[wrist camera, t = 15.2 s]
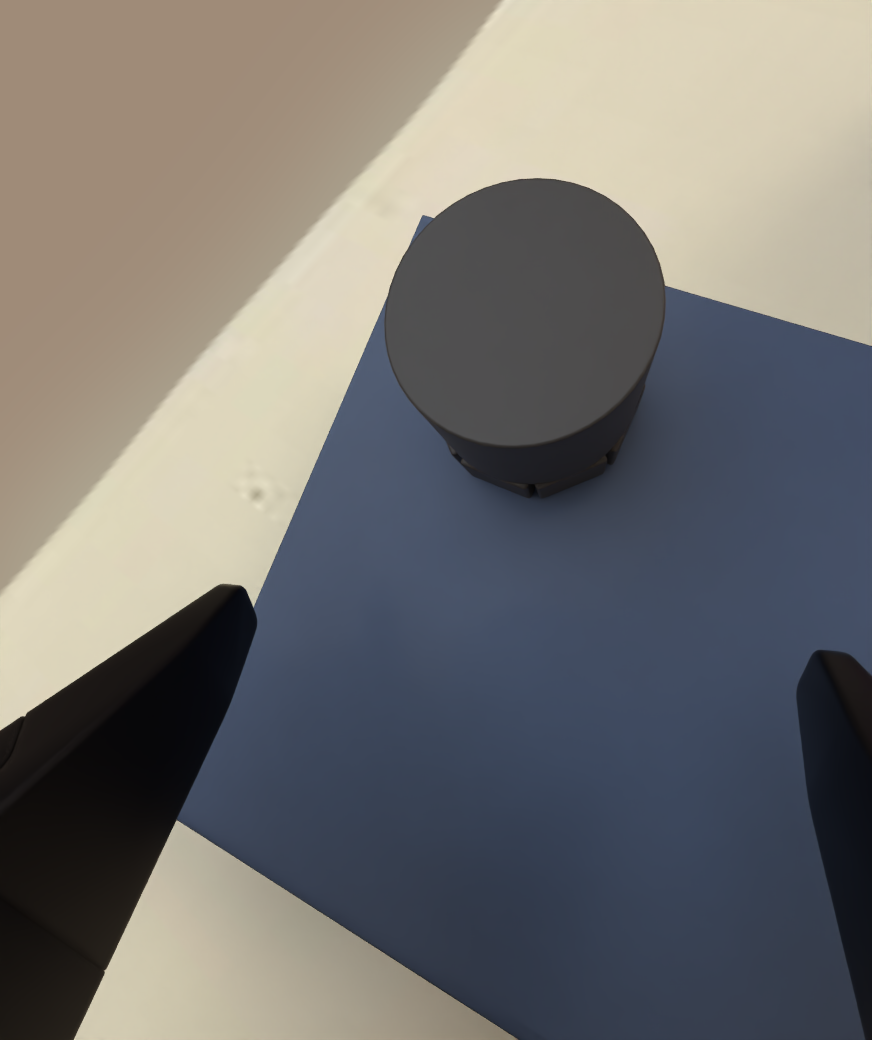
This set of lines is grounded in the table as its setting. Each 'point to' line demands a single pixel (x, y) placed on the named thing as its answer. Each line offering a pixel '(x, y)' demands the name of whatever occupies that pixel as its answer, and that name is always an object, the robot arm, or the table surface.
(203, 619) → the robot arm
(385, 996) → the table surface
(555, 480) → the cap
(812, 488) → the book
